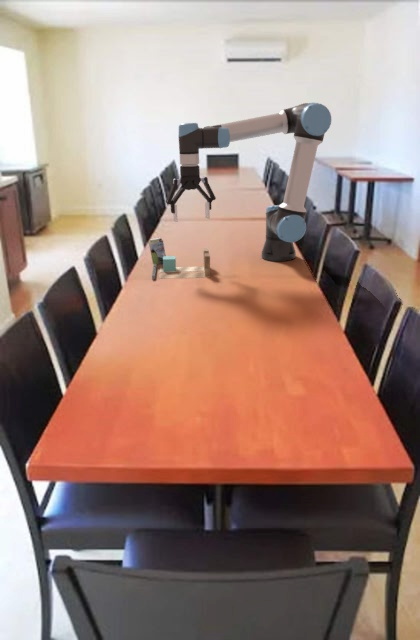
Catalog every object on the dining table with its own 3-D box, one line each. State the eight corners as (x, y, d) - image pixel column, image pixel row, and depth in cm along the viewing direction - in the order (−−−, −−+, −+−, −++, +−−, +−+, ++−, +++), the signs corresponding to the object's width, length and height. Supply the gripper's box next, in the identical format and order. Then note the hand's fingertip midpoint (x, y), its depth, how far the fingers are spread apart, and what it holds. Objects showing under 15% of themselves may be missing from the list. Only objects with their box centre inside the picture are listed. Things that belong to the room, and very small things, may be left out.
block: (175, 267, 233) (175, 256, 231) (175, 271, 228) (175, 259, 227) (163, 268, 233) (163, 256, 231) (163, 271, 228) (162, 259, 226)
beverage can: (164, 267, 238) (163, 239, 234) (148, 267, 240) (146, 239, 236) (168, 263, 244) (167, 236, 240) (152, 263, 246) (151, 236, 241)
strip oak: (209, 274, 226) (209, 252, 223) (210, 279, 220) (210, 256, 217) (159, 276, 226) (158, 254, 222) (159, 281, 219) (157, 258, 216)
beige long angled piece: (208, 268, 235) (208, 247, 232) (209, 273, 228) (208, 251, 225) (160, 270, 234) (159, 248, 231) (159, 274, 228) (158, 252, 224)
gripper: (215, 162, 226) (216, 215, 234) (155, 166, 218) (159, 221, 225) (223, 163, 220) (224, 218, 227) (161, 167, 211) (164, 224, 219)
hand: (191, 219), depth 226 cm, fingers open, 13 cm apart
